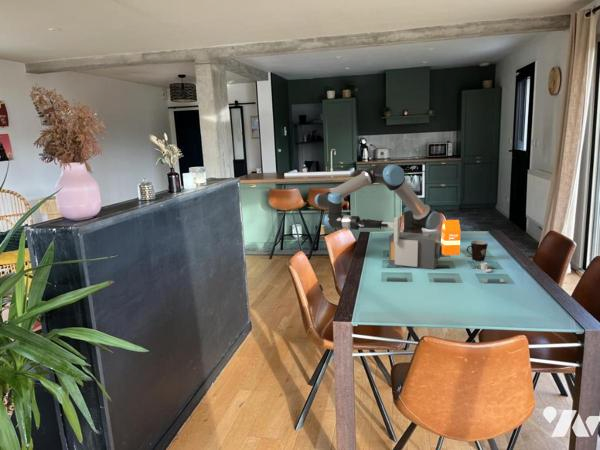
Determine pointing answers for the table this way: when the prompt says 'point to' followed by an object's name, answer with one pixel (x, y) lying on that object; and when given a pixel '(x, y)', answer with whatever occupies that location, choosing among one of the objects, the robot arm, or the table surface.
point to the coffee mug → (478, 250)
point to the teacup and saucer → (485, 267)
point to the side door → (404, 248)
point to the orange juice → (450, 237)
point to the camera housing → (419, 249)
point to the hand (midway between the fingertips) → (393, 225)
